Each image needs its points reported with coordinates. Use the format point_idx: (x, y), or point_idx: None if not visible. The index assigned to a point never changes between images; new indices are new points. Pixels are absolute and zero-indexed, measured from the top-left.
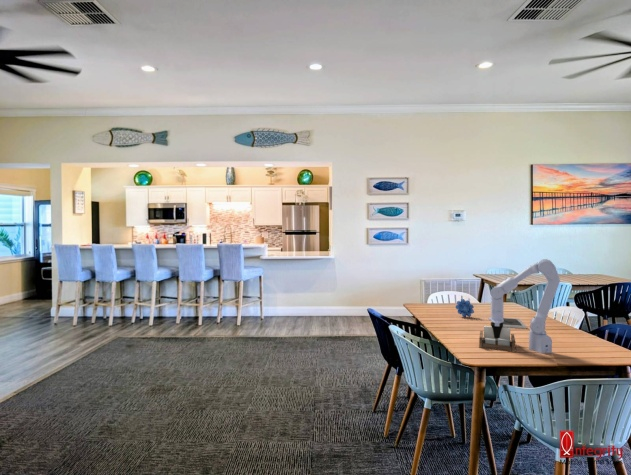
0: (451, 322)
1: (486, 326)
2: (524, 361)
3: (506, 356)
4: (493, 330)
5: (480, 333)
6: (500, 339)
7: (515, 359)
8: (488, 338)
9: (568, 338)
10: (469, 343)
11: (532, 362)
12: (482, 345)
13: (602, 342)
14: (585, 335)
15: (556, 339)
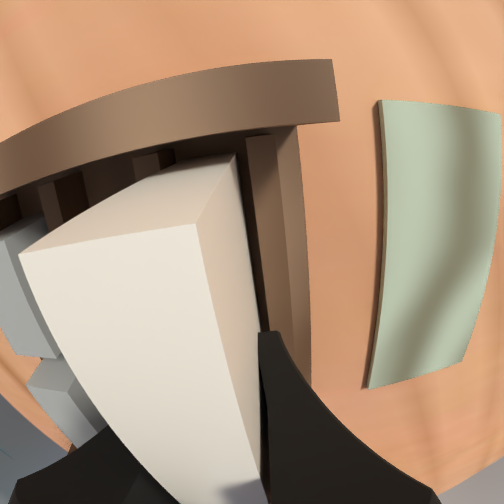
0: None
1: (117, 354)
2: (26, 411)
3: (13, 356)
4: (107, 428)
5: (60, 126)
6: (44, 403)
7: (14, 386)
8: (11, 284)
9: (476, 457)
10: (148, 6)
11: (43, 431)
12: (65, 174)
13: (436, 494)
14: (497, 457)
15: (468, 450)
